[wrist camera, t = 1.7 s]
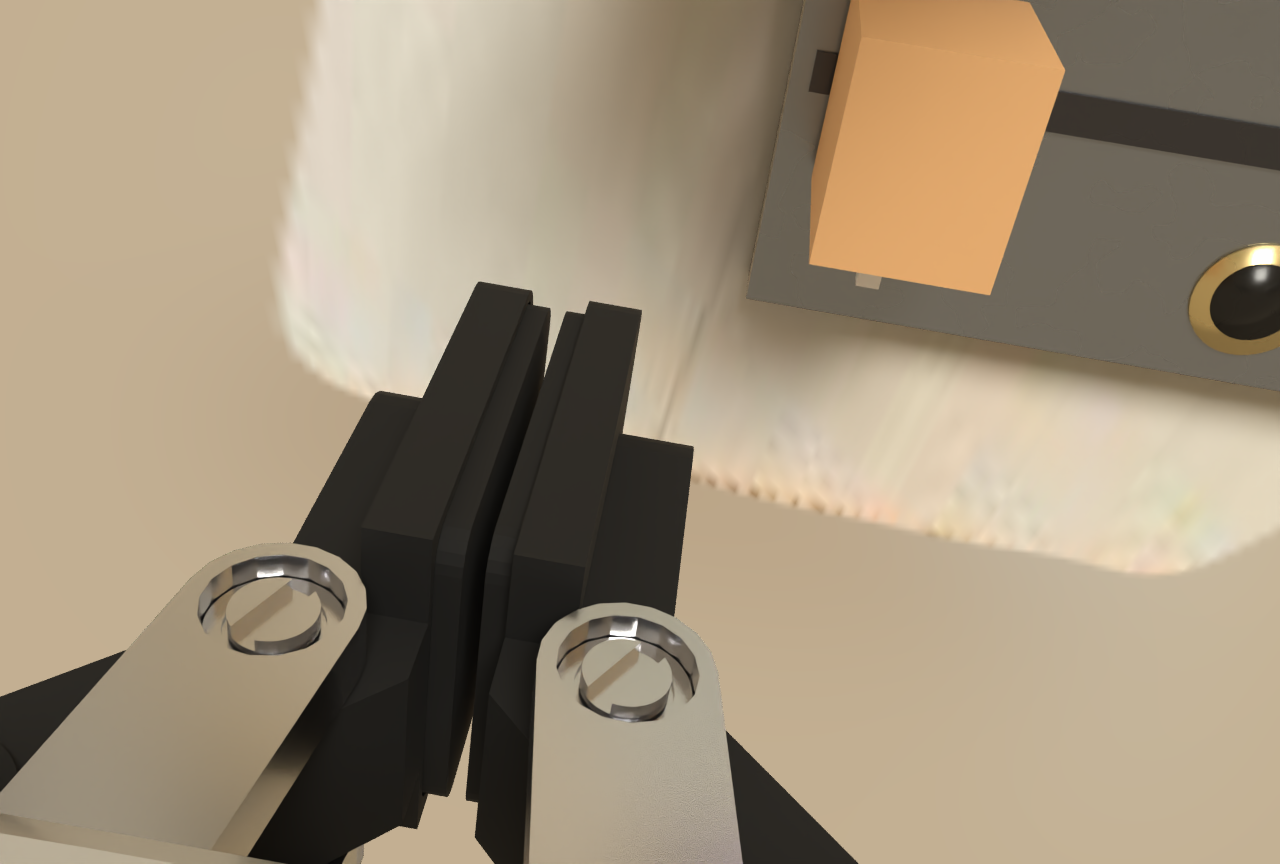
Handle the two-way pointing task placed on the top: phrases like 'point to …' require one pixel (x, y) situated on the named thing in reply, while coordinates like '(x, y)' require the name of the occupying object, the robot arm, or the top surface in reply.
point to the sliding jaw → (930, 139)
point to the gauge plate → (1092, 196)
